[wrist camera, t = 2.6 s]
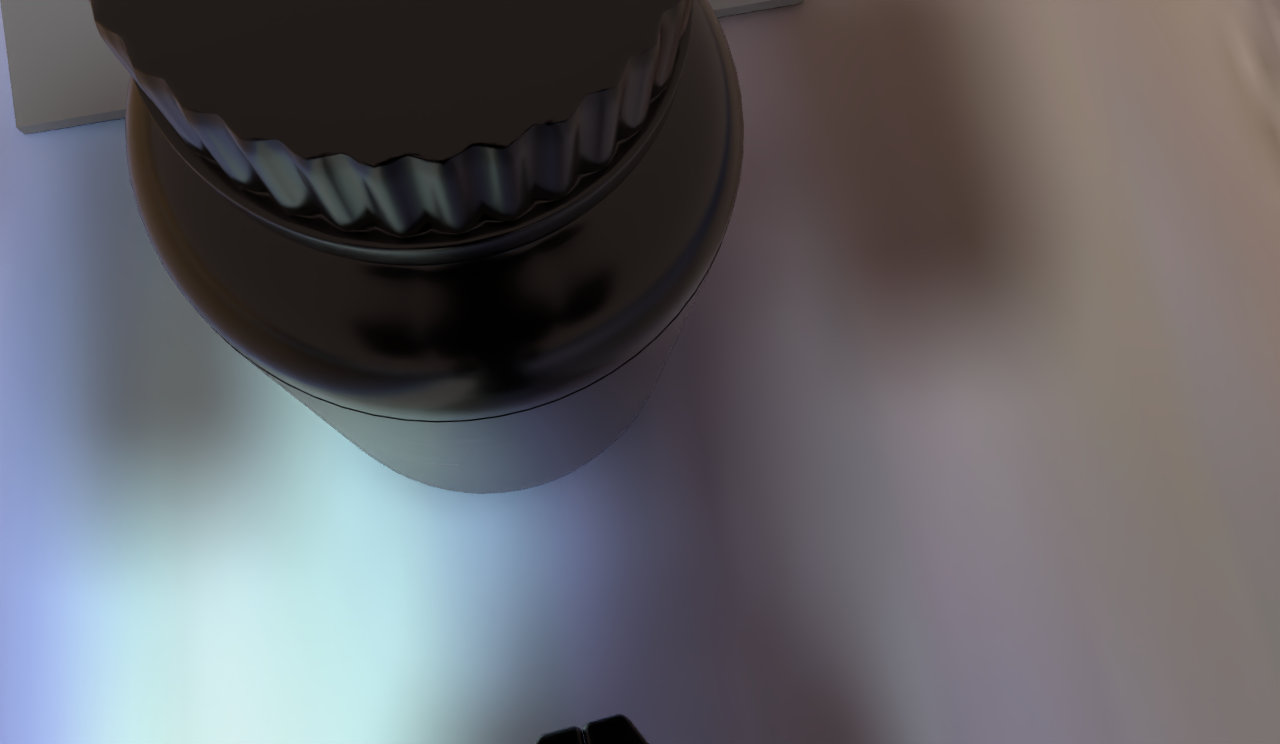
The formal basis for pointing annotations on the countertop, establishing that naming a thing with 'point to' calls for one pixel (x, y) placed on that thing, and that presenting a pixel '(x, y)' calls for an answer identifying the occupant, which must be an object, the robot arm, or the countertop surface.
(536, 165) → the supplement bottle
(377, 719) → the countertop surface
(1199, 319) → the countertop surface
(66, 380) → the countertop surface
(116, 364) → the countertop surface
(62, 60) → the metal sheet
